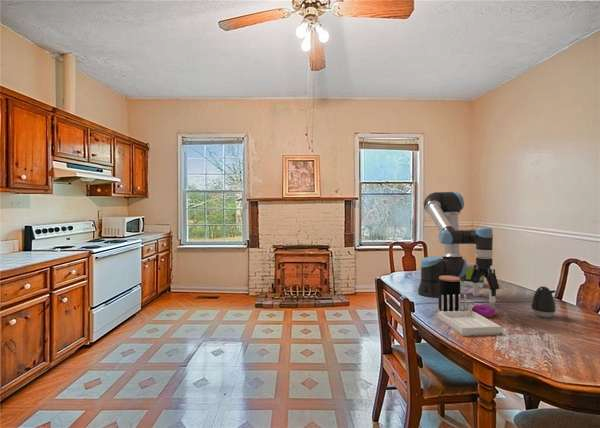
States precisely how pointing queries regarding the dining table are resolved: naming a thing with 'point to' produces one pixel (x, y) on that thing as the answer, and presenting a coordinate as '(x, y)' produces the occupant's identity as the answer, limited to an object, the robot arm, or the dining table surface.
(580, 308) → the dining table surface
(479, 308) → the donut
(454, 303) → the rack tines
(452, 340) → the dining table surface
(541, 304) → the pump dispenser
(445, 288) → the coffee jar
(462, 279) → the tea box
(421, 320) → the dining table surface
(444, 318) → the tray
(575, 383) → the dining table surface
